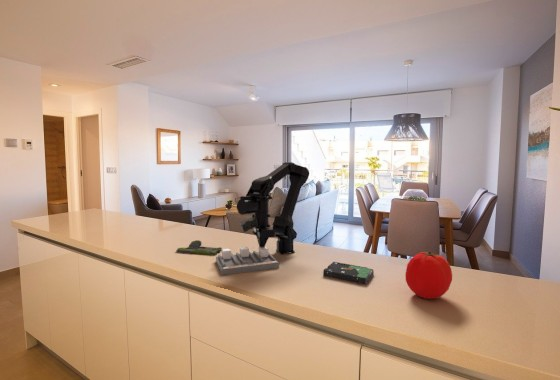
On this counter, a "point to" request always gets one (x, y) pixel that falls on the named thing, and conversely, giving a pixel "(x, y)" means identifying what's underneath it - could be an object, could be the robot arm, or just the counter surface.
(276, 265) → the switch bank
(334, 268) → the disk drive
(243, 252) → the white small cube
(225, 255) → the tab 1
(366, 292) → the counter surface
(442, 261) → the tomato
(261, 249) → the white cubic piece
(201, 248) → the gun
